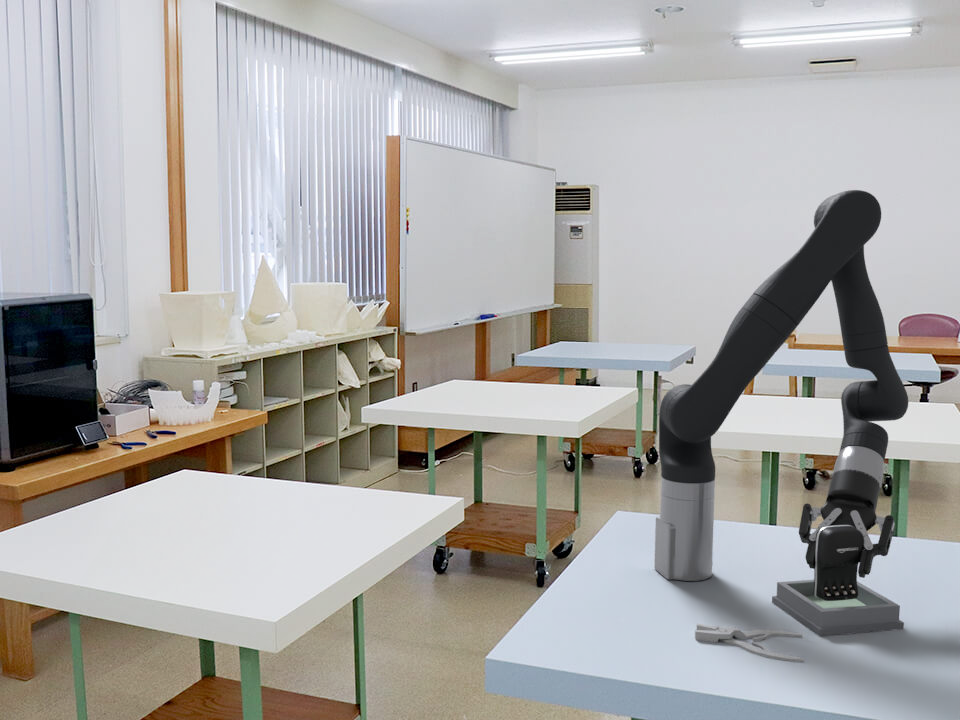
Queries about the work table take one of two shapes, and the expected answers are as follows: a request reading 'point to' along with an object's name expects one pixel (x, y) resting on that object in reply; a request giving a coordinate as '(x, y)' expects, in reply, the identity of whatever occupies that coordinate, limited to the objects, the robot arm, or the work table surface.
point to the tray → (837, 610)
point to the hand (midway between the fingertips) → (836, 570)
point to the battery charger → (837, 562)
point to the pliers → (727, 635)
